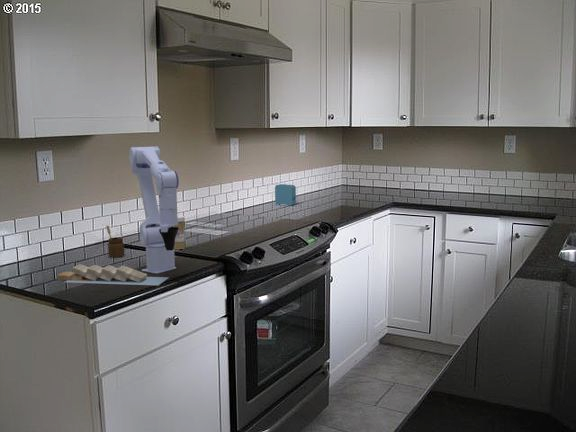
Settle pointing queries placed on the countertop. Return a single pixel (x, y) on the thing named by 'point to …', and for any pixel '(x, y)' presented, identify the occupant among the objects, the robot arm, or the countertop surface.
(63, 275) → the domino
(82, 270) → the domino
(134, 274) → the domino
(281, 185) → the data package
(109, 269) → the domino
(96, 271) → the domino
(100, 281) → the mat
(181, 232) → the sprinkles bottle
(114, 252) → the utensil holder
